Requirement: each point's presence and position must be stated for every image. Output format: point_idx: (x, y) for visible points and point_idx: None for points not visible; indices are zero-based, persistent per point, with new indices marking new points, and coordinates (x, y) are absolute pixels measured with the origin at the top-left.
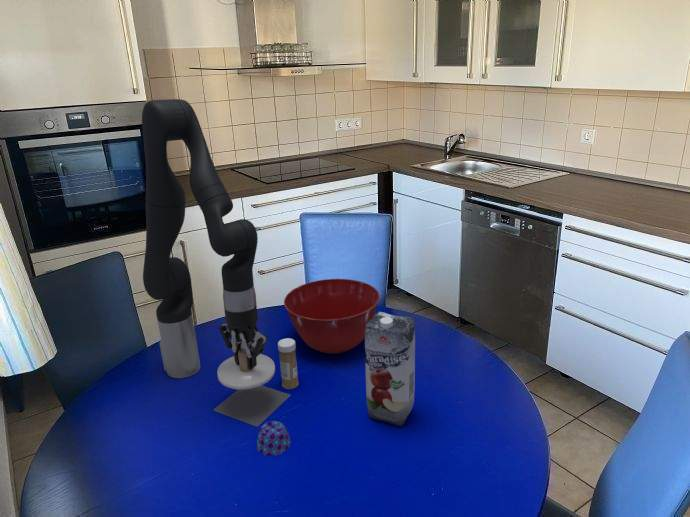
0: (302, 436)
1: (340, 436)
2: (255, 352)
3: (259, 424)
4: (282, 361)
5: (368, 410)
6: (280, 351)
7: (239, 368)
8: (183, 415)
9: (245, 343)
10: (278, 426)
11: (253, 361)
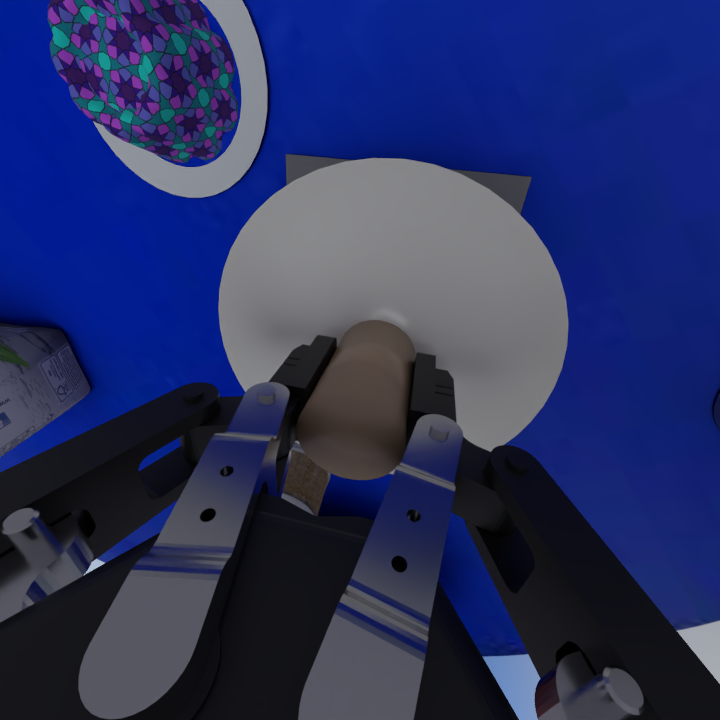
0: (134, 183)
1: (55, 231)
2: (160, 413)
3: (286, 170)
4: (298, 454)
5: (41, 340)
6: (284, 495)
7: (414, 344)
8: (687, 86)
9: (198, 492)
10: (115, 109)
11: (277, 375)
